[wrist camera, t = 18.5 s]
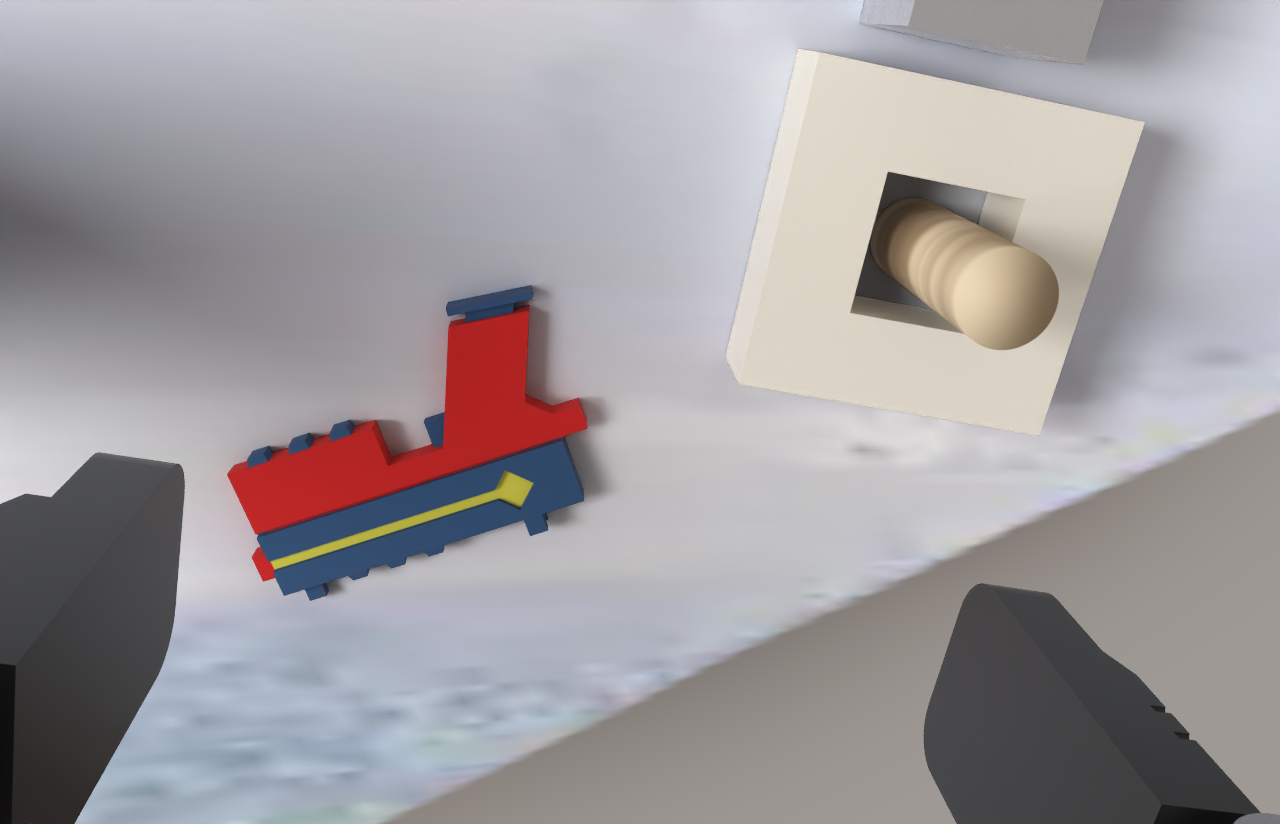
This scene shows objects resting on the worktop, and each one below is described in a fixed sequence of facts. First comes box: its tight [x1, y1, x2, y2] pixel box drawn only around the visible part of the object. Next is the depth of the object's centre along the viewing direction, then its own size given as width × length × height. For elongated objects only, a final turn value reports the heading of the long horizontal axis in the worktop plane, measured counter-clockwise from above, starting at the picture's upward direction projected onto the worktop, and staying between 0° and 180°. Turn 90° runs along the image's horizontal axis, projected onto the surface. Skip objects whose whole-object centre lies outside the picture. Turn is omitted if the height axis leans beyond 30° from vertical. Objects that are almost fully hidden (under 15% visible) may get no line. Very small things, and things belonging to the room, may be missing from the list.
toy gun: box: [227, 285, 587, 601], centre depth 45 cm, size 15×2×10 cm
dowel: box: [870, 198, 1059, 350], centre depth 39 cm, size 3×3×10 cm
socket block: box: [726, 49, 1145, 436], centre depth 42 cm, size 12×12×4 cm
